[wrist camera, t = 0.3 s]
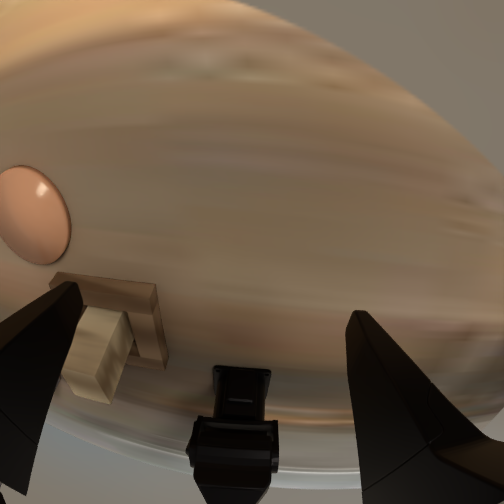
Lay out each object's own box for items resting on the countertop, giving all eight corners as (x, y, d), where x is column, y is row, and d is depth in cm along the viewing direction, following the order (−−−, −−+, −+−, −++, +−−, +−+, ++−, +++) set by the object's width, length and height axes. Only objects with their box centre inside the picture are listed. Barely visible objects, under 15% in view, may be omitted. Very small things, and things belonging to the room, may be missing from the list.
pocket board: (168, 356, 34) (165, 370, 32) (85, 341, 34) (79, 354, 32) (155, 284, 28) (149, 298, 26) (57, 271, 28) (48, 284, 26)
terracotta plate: (81, 263, 27) (76, 269, 26) (11, 254, 27) (6, 259, 26) (59, 162, 21) (53, 166, 20) (-13, 168, 21) (-20, 172, 20)
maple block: (135, 335, 32) (110, 404, 25) (103, 330, 32) (75, 395, 25) (126, 303, 29) (94, 376, 22) (92, 297, 29) (56, 366, 22)
